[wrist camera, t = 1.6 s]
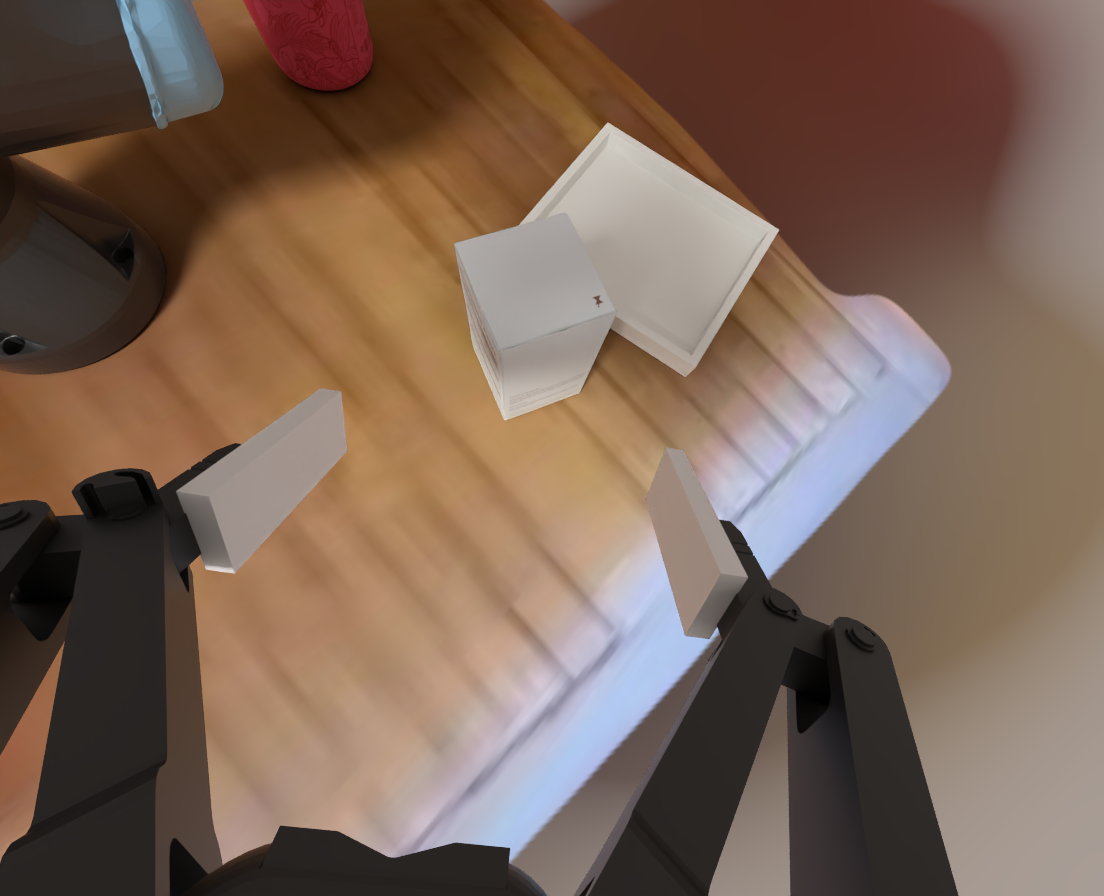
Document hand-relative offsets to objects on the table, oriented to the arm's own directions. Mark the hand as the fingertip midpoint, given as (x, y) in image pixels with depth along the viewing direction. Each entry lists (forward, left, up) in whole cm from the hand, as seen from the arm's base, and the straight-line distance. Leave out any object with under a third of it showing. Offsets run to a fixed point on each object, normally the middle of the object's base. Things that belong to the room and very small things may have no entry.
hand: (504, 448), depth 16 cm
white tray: (-3, +27, -16) cm, 31 cm away
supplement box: (-5, +10, -16) cm, 19 cm away
